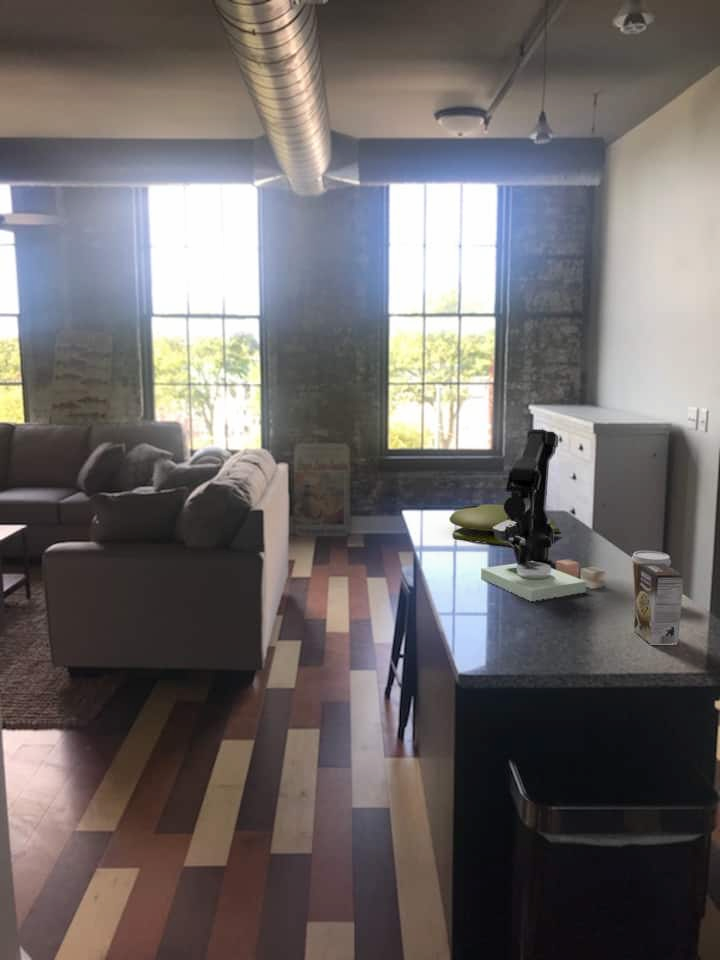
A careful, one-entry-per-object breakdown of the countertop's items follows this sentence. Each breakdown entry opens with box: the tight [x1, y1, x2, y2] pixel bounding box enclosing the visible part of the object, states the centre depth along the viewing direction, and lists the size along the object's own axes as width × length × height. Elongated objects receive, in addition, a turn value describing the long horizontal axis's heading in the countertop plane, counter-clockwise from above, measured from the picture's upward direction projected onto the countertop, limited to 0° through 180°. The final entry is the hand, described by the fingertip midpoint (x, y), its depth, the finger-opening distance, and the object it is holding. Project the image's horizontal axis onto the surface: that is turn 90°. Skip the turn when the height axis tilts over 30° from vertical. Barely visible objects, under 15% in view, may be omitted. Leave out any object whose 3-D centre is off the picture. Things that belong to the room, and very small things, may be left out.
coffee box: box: [633, 563, 685, 645], centre depth 168 cm, size 9×6×16 cm
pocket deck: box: [480, 561, 587, 602], centre depth 207 cm, size 18×22×3 cm
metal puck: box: [517, 561, 552, 580], centre depth 206 cm, size 9×9×2 cm
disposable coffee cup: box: [630, 550, 672, 600], centre depth 194 cm, size 10×10×12 cm
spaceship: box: [449, 503, 561, 547], centre depth 265 cm, size 35×31×10 cm
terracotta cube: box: [555, 558, 580, 579], centre depth 214 cm, size 4×4×4 cm
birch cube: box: [579, 566, 606, 589], centre depth 207 cm, size 4×4×4 cm
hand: (520, 566), depth 211 cm, fingers closed
